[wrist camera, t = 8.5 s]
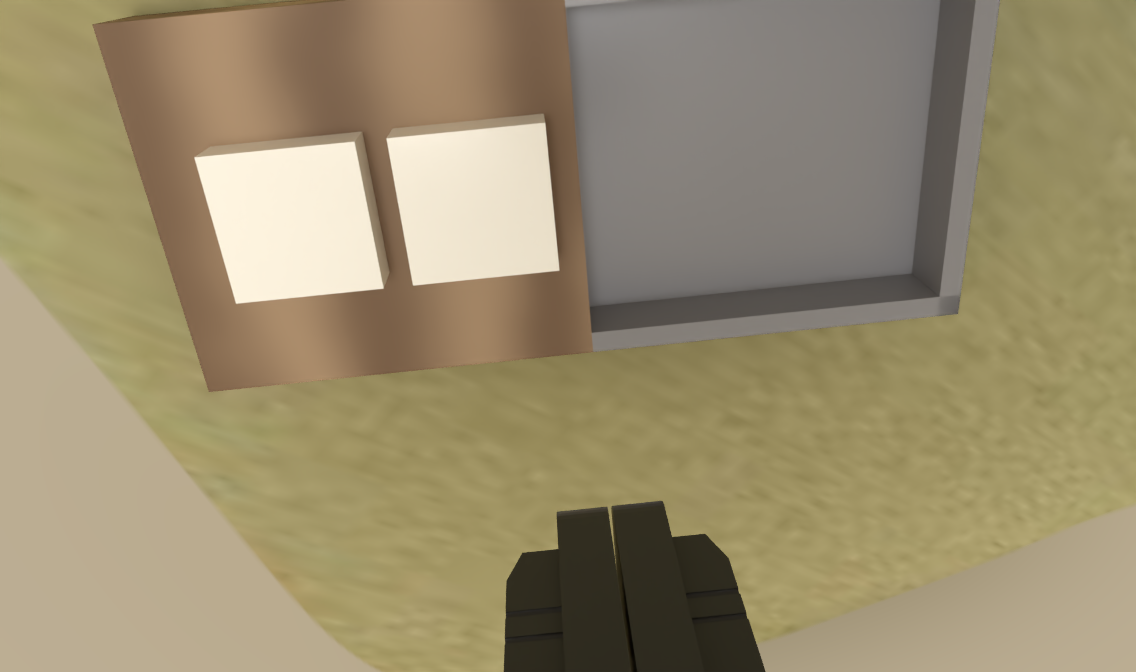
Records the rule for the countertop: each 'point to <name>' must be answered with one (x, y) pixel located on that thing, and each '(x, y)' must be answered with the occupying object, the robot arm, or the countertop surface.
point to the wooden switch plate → (374, 107)
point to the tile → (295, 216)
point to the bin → (774, 161)
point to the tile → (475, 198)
